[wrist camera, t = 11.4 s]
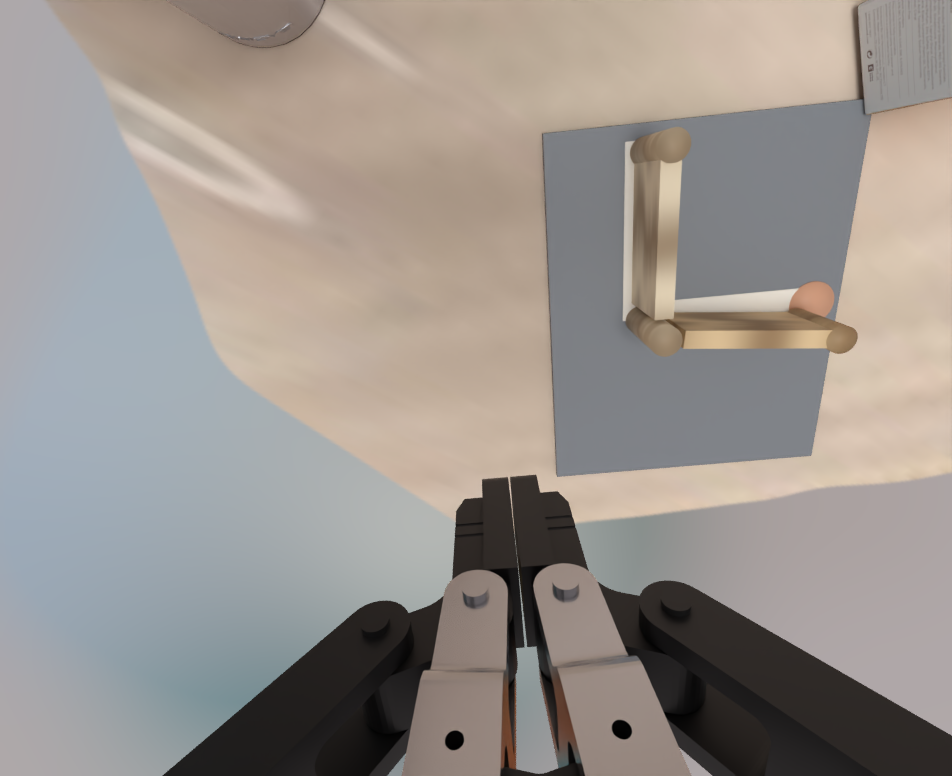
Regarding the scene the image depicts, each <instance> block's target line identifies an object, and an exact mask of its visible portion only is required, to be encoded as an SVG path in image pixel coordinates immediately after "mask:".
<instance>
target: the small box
mask: <svg viewBox="0 0 952 776" xmlns="http://www.w3.org/2000/svg"><path fill="white" fill-rule="evenodd" d="M858 17H859V34H860V50H861V64H862V79H863V91H864V104H865V113H866V114H867V115H869V114H874V113H880V112H884V111H889V110H894V109H899V108H905V107H909V106H914V105H918V104H923V103H927V102H933V101H938V100H943V99H948V98H952V0H868V1H866V2H864V3H862V4H860V5H859V6H858Z"/></svg>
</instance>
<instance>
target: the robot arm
mask: <svg viewBox="0 0 952 776" xmlns="http://www.w3.org/2000/svg"><path fill="white" fill-rule="evenodd" d="M166 1H168V2H169V3H171V4H173V5H174V6H176V7H178V8H179V9H181V10H182V11H184V12H186V13H187V14H189V15H191V16H192V17H194V18H196V19H197V20H199V21H201V22H202V23H204V24H206V25H207V26H209V27H211V28H212V29H214V30H216V31H217V32H219V33H220V34H222V35H224V36H226V37H228V38H230V39H232V40H234V41H236V42H238V43H241V44H245V45H249V46H252V47H274V46H278V45H282V44H286V43H287V42H289V41H291V40H293V39H295V38H296V37H298V36H300V35H301V34H302V33H303V32H304V31H305V30H306V29H307V28H308V27H309V26H310V25H311V24H312V22H313V21H314V19H315V18H316V16H317V15H318V13H319V12H320V10H321V7H322V4H323V2H324V0H166ZM510 482H511V494H512V506H513V518H514V527H513V518H512V509H511V500H510V491H509V482H508V477H505V478H493V479H482V493H483V498H472V499H464V501H463V502H462V504H461V505H460V507H459V508H458V510H457V511H456V528H455V543H454V560H453V578H452V581H450V583H449V584H448V585H447V587H446V589H445V592H444V596H443V597H442V598H441V599H439V600H438V601H437V602H435V603H433V604H432V605H430V606H427V607H425V608H422V609H419V610H416V611H414V612H411V613H408V612H407V610H406V609H405V608H404V607H403V606H402V605H400V604H398V603H396V602H392V601H378V602H373V603H370V604H368V605H365V606H363V607H362V608H360V609H358V610H357V611H356V612H355V613H353V614H352V615H351V616H350V617H349V618H347V619H346V620H345V621H344V622H343V623H342V624H341V625H339V626H338V627H337V628H336V629H334V630H333V631H332V632H331V633H330V634H329V635H327V636H326V637H325V638H324V639H323V640H321V641H320V642H319V643H318V644H317V645H316V646H314V647H313V648H312V649H311V650H310V651H309V652H307V653H306V654H305V655H304V656H303V657H302V658H300V659H299V660H298V661H297V662H296V663H294V664H293V665H292V666H291V667H290V668H289V669H287V670H286V671H285V672H284V673H283V674H282V675H280V676H279V677H278V678H277V679H276V680H275V681H273V682H272V683H271V684H270V685H269V686H267V687H266V688H265V689H264V690H263V691H262V692H260V693H259V694H258V695H257V696H256V697H254V698H253V699H252V700H251V701H250V702H249V703H247V704H246V705H245V706H244V707H243V708H242V709H241V710H239V711H238V712H237V713H236V714H234V715H233V716H232V717H231V718H230V719H229V720H227V721H226V722H225V723H224V724H223V725H222V726H220V727H219V728H218V729H217V730H216V731H215V732H213V733H212V734H211V735H210V736H209V737H207V738H206V739H205V740H204V741H203V742H202V743H201V744H199V745H198V746H197V747H196V748H195V749H193V750H192V751H191V752H190V753H189V754H188V755H186V756H185V757H184V758H183V759H182V760H181V761H179V762H178V763H177V764H176V765H175V766H173V767H172V768H171V769H170V770H169V771H167V772H166V773H165V774H164V775H163V776H387V775H388V774H389V772H390V771H391V770H392V769H393V768H394V766H395V765H396V764H397V763H398V762H399V760H400V759H401V758H402V757H403V755H404V754H405V753H406V756H405V762H404V767H403V772H402V776H691V774H690V772H689V769H688V767H687V765H686V762H685V760H684V758H683V755H682V753H681V751H680V749H679V747H680V748H681V749H682V750H683V751H684V752H686V753H687V754H688V755H689V756H690V757H691V758H692V759H694V760H695V761H696V762H697V763H699V764H700V765H701V766H702V767H703V768H704V769H705V770H707V771H708V772H709V773H710V774H711V775H712V776H952V736H951V735H950V734H948V733H946V732H944V731H943V730H941V729H939V728H937V727H936V726H934V725H932V724H930V723H929V722H927V721H925V720H923V719H922V718H920V717H918V716H917V715H915V714H913V713H911V712H910V711H908V710H906V709H904V708H902V707H901V706H899V705H897V704H896V703H894V702H892V701H890V700H888V699H887V698H885V697H883V696H882V695H880V694H878V693H876V692H874V691H873V690H871V689H869V688H868V687H866V686H864V685H862V684H861V683H859V682H857V681H856V680H854V679H852V678H850V677H848V676H847V675H845V674H843V673H842V672H840V671H838V670H836V669H835V668H833V667H831V666H829V665H828V664H826V663H824V662H822V661H821V660H819V659H817V658H815V657H814V656H812V655H810V654H808V653H807V652H805V651H803V650H802V649H800V648H798V647H796V646H794V645H793V644H791V643H789V642H788V641H786V640H784V639H782V638H781V637H779V636H777V635H775V634H773V633H772V632H770V631H768V630H766V629H765V628H763V627H761V626H760V625H758V624H756V623H755V622H753V621H751V620H749V619H747V618H746V617H744V616H742V615H740V614H739V613H737V612H735V611H734V610H732V609H730V608H728V607H727V606H725V605H723V604H721V603H720V602H718V601H716V600H714V599H713V598H711V597H709V596H707V595H706V594H704V593H702V592H700V591H699V590H697V589H695V588H693V587H691V586H689V585H687V584H684V583H681V582H676V581H659V582H655V583H653V584H650V585H648V586H647V587H646V588H645V589H644V590H643V591H642V593H641V594H640V596H637V595H632V594H626V593H621V592H617V591H614V590H611V589H609V588H607V587H605V586H603V585H602V584H600V583H599V582H597V580H596V578H595V577H594V576H593V575H592V574H591V573H590V572H589V570H588V568H587V564H586V561H585V558H584V554H583V551H582V548H581V544H580V541H579V537H578V534H577V530H576V528H575V523H574V520H573V518H572V513H571V510H570V506H569V503H568V501H567V500H566V499H565V498H564V497H563V496H562V495H560V494H559V493H558V492H557V491H556V492H544V493H540V490H539V486H538V481H537V476H536V475H528V476H516V477H510ZM514 530H515V536H514ZM515 540H516V545H515ZM516 550H517V554H516ZM517 559H518V563H517ZM518 567H519V574H518ZM519 576H520V585H521V594H522V603H523V612H524V621H525V629H526V639H527V647H532V646H533V647H534V646H537V653H538V660H539V675H540V683H541V688H542V692H543V697H544V702H545V706H546V711H547V716H548V721H549V725H550V730H551V735H552V739H553V744H554V749H555V753H556V758H557V763H558V769H555V770H553V771H550V772H547V773H544V774H535V773H530V772H526V771H521V770H517V769H516V673H517V664H518V663H517V653H516V648H522V647H524V636H523V624H522V611H521V599H520V586H519Z"/></svg>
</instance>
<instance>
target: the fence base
mask: <svg viewBox="0 0 952 776" xmlns="http://www.w3.org/2000/svg"><path fill="white" fill-rule="evenodd" d="M690 148H691V137H690V135H689V133H688V132H687V131H686V130H685V129H684V128H681V127H673V128H670V129H666V130H663V131H660V132H656V133H653V134H650V135H646V136H643V137H640V138H638V139H636V140H635V142H634V143H633V144H632V146H631V149H630V158H631V160H632V162H633V163H634V203H633V252H632V302H631V303H632V304H633V305H635V306H636V307H635V308H633V309H632V310H631V311H630V312H629V313H628V314H627V317H626V321H625V323H626V326H627V328H628V329H629V330H630V331H631V332H632V333H634V334H635V335H636V336H637V337H638V338H639V339H640V340H641V341H642V342H643V343H644V344H645V345H646V346H648V347H649V348H650V349H651V350H652V351H653V352H654V353H655V354H656V355H658V356H662V357H667V356H671V355H673V354H675V353H676V352H677V351H678V350H679V349H680V347H681V345H682V341H683V338H682V334H681V332H680V331H679V330H678V329H677V328H675V327H674V326H672V325H671V324H670V323H668V322H667V321H665V320H664V319H674V304H675V285H676V267H677V248H678V229H679V210H680V191H681V172H682V159H684V158H685V157H686V156H687V154H688V153H689V151H690Z"/></svg>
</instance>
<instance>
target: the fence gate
mask: <svg viewBox="0 0 952 776" xmlns="http://www.w3.org/2000/svg"><path fill="white" fill-rule="evenodd" d="M664 320H665V321H667V322H668V323H670V324H671V325H672V326H674V327H675V328H677V329H678V330H679V331H680V332H681V334H682V338H683V341H682V345H681V347H682V348H683V349H783V348H825V349H827V350H829V351H831V352H834V353H837V354H841V353H845V352H847V351H849V350H850V349H852V348H853V347H854V345H855V344H856V342H857V337H858V336H857V332H856V330H855V329H854V328H852V327H849V326H846V325H844V324H841V323H838V322H836V321H833V320H830V319H828V318H825V317H822V316H820V315H817V314H814V313H812V312H809V311H806V310H804V309H801V308H794V309H791V310H789V311H788V312H674V319H664Z"/></svg>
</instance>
